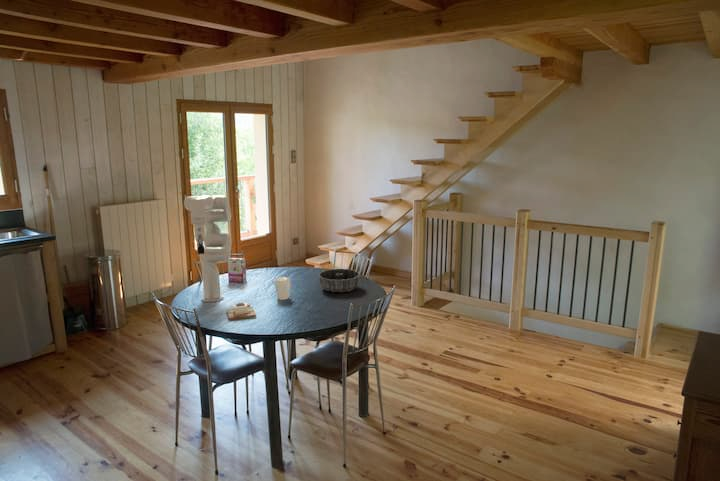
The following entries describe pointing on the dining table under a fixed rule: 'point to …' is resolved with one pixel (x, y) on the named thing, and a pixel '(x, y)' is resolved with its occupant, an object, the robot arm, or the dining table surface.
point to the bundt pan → (339, 280)
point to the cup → (282, 287)
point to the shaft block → (241, 316)
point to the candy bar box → (237, 270)
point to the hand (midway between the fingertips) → (200, 251)
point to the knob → (241, 308)
